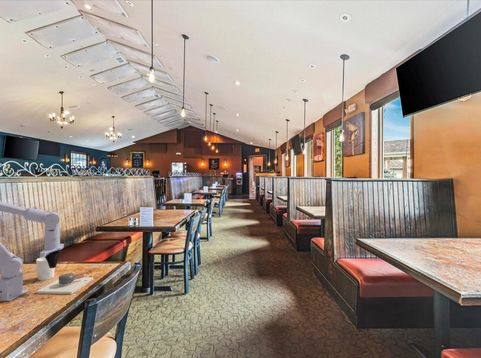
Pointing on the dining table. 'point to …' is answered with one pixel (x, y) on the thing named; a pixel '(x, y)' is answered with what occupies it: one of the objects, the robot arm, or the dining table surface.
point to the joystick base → (64, 286)
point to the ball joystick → (70, 277)
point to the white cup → (44, 269)
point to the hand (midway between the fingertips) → (52, 267)
